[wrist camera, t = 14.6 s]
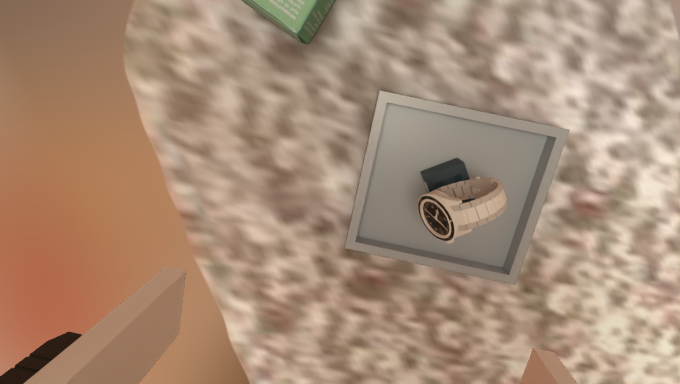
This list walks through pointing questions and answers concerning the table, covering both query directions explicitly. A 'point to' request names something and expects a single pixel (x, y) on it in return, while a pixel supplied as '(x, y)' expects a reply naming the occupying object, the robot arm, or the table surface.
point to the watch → (458, 200)
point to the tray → (481, 161)
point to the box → (294, 15)
